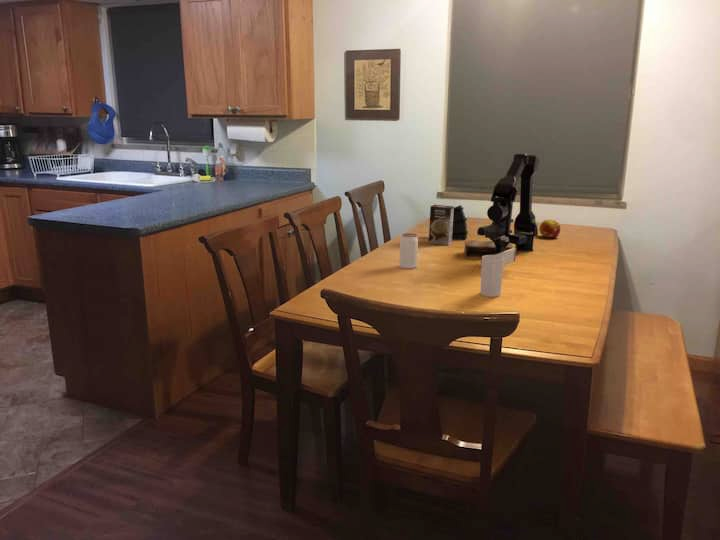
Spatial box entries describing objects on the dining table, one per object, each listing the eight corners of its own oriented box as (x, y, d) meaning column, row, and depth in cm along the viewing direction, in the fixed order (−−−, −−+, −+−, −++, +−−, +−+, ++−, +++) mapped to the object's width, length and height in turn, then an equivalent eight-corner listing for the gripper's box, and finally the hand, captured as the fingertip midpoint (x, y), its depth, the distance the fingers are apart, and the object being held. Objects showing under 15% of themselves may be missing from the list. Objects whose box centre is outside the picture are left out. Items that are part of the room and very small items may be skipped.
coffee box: (428, 243, 262) (429, 206, 258) (432, 240, 268) (433, 204, 264) (448, 245, 259) (450, 207, 255) (452, 242, 265) (454, 205, 261)
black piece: (472, 237, 267) (459, 205, 266) (445, 247, 274) (433, 216, 273) (474, 235, 271) (462, 204, 270) (447, 245, 277) (435, 214, 276)
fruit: (562, 239, 273) (564, 222, 271) (541, 239, 273) (543, 222, 271) (556, 235, 283) (557, 218, 280) (536, 235, 283) (538, 218, 281)
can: (418, 265, 226) (420, 234, 223) (414, 269, 220) (415, 237, 217) (401, 263, 228) (403, 232, 225) (397, 268, 222) (398, 235, 219)
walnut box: (509, 254, 245) (510, 242, 244) (511, 260, 236) (512, 247, 235) (464, 251, 248) (465, 239, 247) (464, 257, 238) (465, 245, 237)
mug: (479, 290, 197) (481, 254, 194) (500, 291, 196) (503, 255, 193) (479, 299, 187) (482, 262, 184) (502, 301, 186) (505, 263, 183)
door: (512, 260, 236) (513, 247, 234) (517, 261, 235) (518, 248, 233) (490, 268, 223) (491, 255, 222) (495, 269, 222) (496, 256, 221)
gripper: (469, 214, 226) (466, 254, 231) (511, 224, 213) (506, 266, 218) (488, 211, 233) (484, 250, 238) (529, 220, 220) (524, 261, 225)
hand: (499, 257), depth 229 cm, fingers closed
